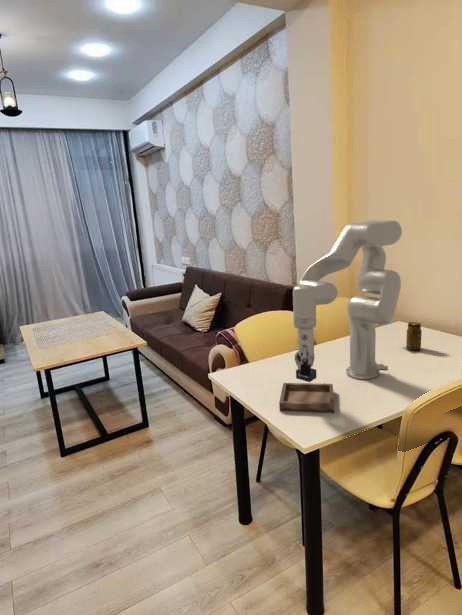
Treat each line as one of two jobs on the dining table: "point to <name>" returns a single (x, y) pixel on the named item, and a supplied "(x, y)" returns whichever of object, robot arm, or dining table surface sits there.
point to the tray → (307, 397)
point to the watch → (298, 371)
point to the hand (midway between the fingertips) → (306, 370)
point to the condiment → (414, 338)
